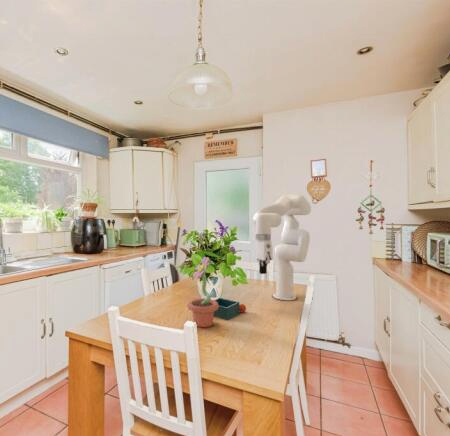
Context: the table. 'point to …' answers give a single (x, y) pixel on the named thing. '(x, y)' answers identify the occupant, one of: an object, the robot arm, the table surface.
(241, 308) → the ball
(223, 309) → the box
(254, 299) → the table surface
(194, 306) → the decorative flower
